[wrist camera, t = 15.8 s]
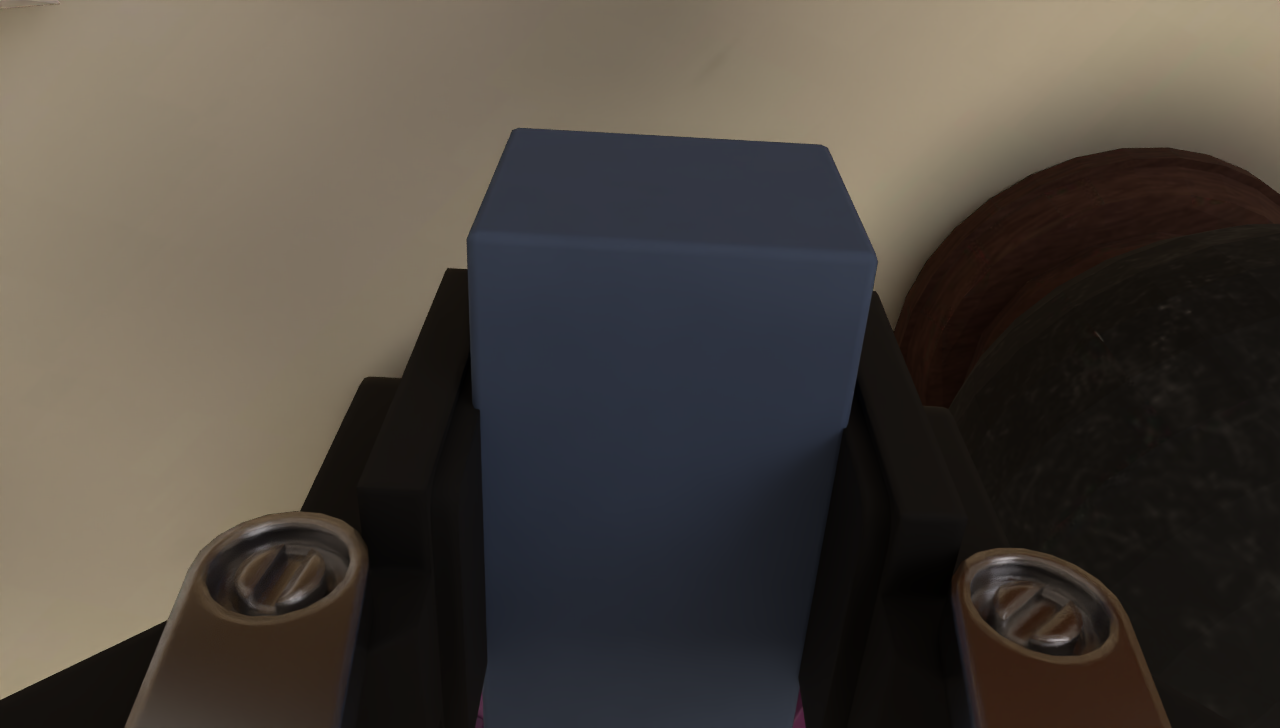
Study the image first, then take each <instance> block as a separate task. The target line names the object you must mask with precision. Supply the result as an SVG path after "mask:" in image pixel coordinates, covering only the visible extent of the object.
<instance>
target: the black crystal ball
mask: <svg viewBox="0 0 1280 728" xmlns="http://www.w3.org/2000/svg"><path fill="white" fill-rule="evenodd" d="M894 335H895V338H896V340H897V343H898V345H899V348H900V350H901V353H902V355H903V358H904V360H905V363H906V365H907V368H908V370H909V373H910V375H911V377H912V380H913V382H914V385H915V387H916V390H917V392H918V395H919V397H920V400H921V402H922V405H923V406H937V407H944V408H947V409H949V411H950V413H951V414H952V416H953V417H954V420H955V422H956V424H957V426H958V429H959V431H960V433H961V435H962V438H963V440H964V442H965V445H966V447H967V449H968V451H969V454H970V456H971V458H972V460H973V463H974V465H975V467H976V469H977V472H978V474H979V476H980V478H981V481H982V483H983V485H984V488H985V490H986V492H987V494H988V497H989V499H990V501H991V503H992V506H993V508H994V510H995V512H996V515H997V517H998V519H999V521H1000V524H1001V526H1002V528H1003V531H1004V533H1005V535H1006V537H1007V540H1008V542H1009V544H1010V546H1011V548H1024V549H1028V550H1033V551H1037V552H1042V553H1046V554H1050V555H1053V556H1055V557H1058V558H1060V559H1062V560H1065V561H1067V562H1070V563H1072V564H1075V565H1076V566H1078V567H1080V568H1081V569H1083V570H1084V571H1086V572H1087V573H1089V574H1091V575H1092V576H1094V577H1095V578H1097V579H1098V580H1099V581H1101V582H1102V583H1103V584H1104V585H1105V586H1106V587H1107V588H1108V589H1109V590H1110V591H1111V592H1112V593H1113V594H1114V595H1115V596H1116V597H1117V598H1118V600H1119V602H1120V603H1121V605H1122V607H1123V608H1124V610H1125V612H1126V613H1127V615H1128V617H1129V619H1130V622H1131V624H1132V627H1133V630H1134V632H1135V635H1136V637H1137V640H1138V642H1139V645H1140V648H1141V650H1142V653H1143V655H1144V658H1145V660H1146V663H1147V666H1148V668H1149V671H1150V673H1151V675H1152V676H1154V677H1155V678H1157V679H1159V680H1161V681H1162V682H1164V683H1166V684H1167V685H1169V686H1171V687H1172V688H1174V689H1176V690H1178V691H1179V692H1181V693H1183V694H1184V695H1186V696H1188V697H1190V698H1191V699H1193V700H1195V701H1196V702H1198V703H1200V704H1201V705H1203V706H1205V707H1207V708H1208V709H1210V710H1212V711H1213V712H1215V713H1217V714H1219V715H1220V716H1222V717H1224V718H1225V719H1227V720H1229V721H1230V722H1232V723H1234V724H1236V725H1237V726H1239V727H1241V728H1280V194H1279V193H1277V192H1276V191H1275V190H1273V189H1272V188H1270V187H1269V186H1268V185H1266V184H1265V183H1264V182H1262V181H1261V180H1260V179H1258V178H1257V177H1255V176H1254V175H1252V174H1251V173H1249V172H1248V171H1246V170H1244V169H1242V168H1239V167H1237V166H1234V165H1232V164H1230V163H1227V162H1225V161H1223V160H1220V159H1218V158H1215V157H1213V156H1211V155H1206V154H1201V153H1195V152H1190V151H1184V150H1178V149H1173V148H1122V149H1117V150H1112V151H1107V152H1102V153H1097V154H1092V155H1087V156H1082V157H1077V158H1074V159H1071V160H1069V161H1066V162H1064V163H1061V164H1058V165H1056V166H1053V167H1051V168H1048V169H1045V170H1043V171H1040V172H1038V173H1035V174H1032V175H1030V176H1029V177H1027V178H1025V179H1023V180H1022V181H1020V182H1018V183H1017V184H1015V185H1013V186H1012V187H1010V188H1008V189H1006V190H1005V191H1003V192H1001V193H1000V194H998V195H996V196H995V197H993V198H991V199H990V200H988V201H987V202H986V203H985V204H984V205H982V206H981V207H980V208H979V209H978V210H976V211H975V212H974V213H973V214H972V215H970V216H969V217H968V218H967V219H966V220H964V221H963V222H962V223H961V224H960V225H958V226H957V227H956V228H955V229H954V230H953V231H952V232H951V234H950V235H949V236H948V237H947V238H946V239H945V241H944V242H943V243H942V244H941V245H940V247H939V248H938V249H937V250H936V251H935V252H934V254H933V255H932V256H931V257H930V258H929V259H928V261H927V262H926V264H925V265H924V267H923V269H922V270H921V272H920V274H919V276H918V277H917V279H916V281H915V282H914V284H913V286H912V288H911V289H910V291H909V293H908V295H907V296H906V299H905V302H904V305H903V307H902V310H901V313H900V316H899V319H898V322H897V325H896V328H895V331H894Z"/></svg>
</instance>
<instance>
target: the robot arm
mask: <svg viewBox="0 0 1280 728" xmlns="http://www.w3.org/2000/svg"><path fill="white" fill-rule="evenodd" d="M486 668H487V630H486V597H485V564H484V531H483V498H482V465H481V432H480V410H479V409H476V408H474V406H473V404H472V381H471V352H470V324H469V295H468V269H455V268H447V270H446V271H445V274H444V276H443V279H442V281H441V283H440V286H439V288H438V291H437V293H436V296H435V298H434V300H433V303H432V305H431V308H430V310H429V312H428V315H427V317H426V320H425V322H424V325H423V327H422V329H421V332H420V334H419V337H418V339H417V342H416V344H415V346H414V349H413V351H412V354H411V356H410V359H409V361H408V363H407V366H406V368H405V371H404V373H403V376H402V378H387V377H366V378H364V380H363V381H362V383H361V384H360V386H359V388H358V390H357V392H356V394H355V396H354V398H353V400H352V402H351V405H350V407H349V409H348V411H347V413H346V415H345V417H344V419H343V421H342V424H341V426H340V428H339V430H338V432H337V434H336V436H335V438H334V440H333V443H332V445H331V447H330V449H329V451H328V453H327V455H326V457H325V459H324V462H323V464H322V466H321V468H320V470H319V472H318V474H317V476H316V478H315V481H314V483H313V485H312V487H311V489H310V491H309V493H308V495H307V497H306V500H305V502H304V504H303V506H302V508H301V510H300V512H299V511H293V512H285V513H276V514H268V515H265V516H262V517H258V518H255V519H252V520H249V521H245V522H242V523H240V524H239V525H237V526H235V527H233V528H231V529H229V530H227V531H225V532H223V533H221V534H220V535H218V536H217V537H216V538H215V539H213V540H212V541H211V542H210V543H209V544H208V545H206V546H205V547H204V548H203V549H202V550H201V551H200V552H199V553H198V555H197V557H196V558H195V560H194V561H193V563H192V564H191V566H190V568H189V569H188V571H187V574H186V576H185V579H184V581H183V584H182V586H181V589H180V591H179V594H178V596H177V599H176V601H175V604H174V606H173V608H172V611H171V613H170V616H169V618H168V620H167V621H165V622H163V623H161V624H158V625H156V626H154V627H152V628H150V629H148V630H146V631H144V632H142V633H140V634H138V635H135V636H133V637H131V638H129V639H127V640H125V641H123V642H121V643H119V644H117V645H115V646H112V647H110V648H108V649H106V650H104V651H102V652H100V653H98V654H96V655H94V656H92V657H89V658H87V659H85V660H83V661H81V662H79V663H77V664H75V665H73V666H71V667H69V668H67V669H64V670H62V671H60V672H58V673H56V674H54V675H52V676H50V677H48V678H46V679H44V680H41V681H39V682H37V683H35V684H33V685H31V686H29V687H27V688H25V689H23V690H21V691H18V692H16V693H14V694H12V695H10V696H8V697H6V698H4V699H2V700H0V728H475V726H476V721H477V715H478V710H479V705H480V700H481V694H482V689H483V684H484V678H485V673H486ZM798 679H799V686H800V693H801V699H802V706H803V713H804V719H805V726H806V728H1241V727H1239V726H1237V725H1236V724H1234V723H1232V722H1230V721H1229V720H1227V719H1225V718H1224V717H1222V716H1220V715H1219V714H1217V713H1215V712H1213V711H1212V710H1210V709H1208V708H1207V707H1205V706H1203V705H1201V704H1200V703H1198V702H1196V701H1195V700H1193V699H1191V698H1190V697H1188V696H1186V695H1184V694H1183V693H1181V692H1179V691H1178V690H1176V689H1174V688H1172V687H1171V686H1169V685H1167V684H1166V683H1164V682H1162V681H1161V680H1159V679H1157V678H1155V677H1154V676H1152V675H1151V673H1150V671H1149V668H1148V666H1147V663H1146V660H1145V658H1144V655H1143V653H1142V650H1141V648H1140V645H1139V642H1138V640H1137V637H1136V635H1135V632H1134V630H1133V627H1132V624H1131V622H1130V619H1129V617H1128V615H1127V613H1126V612H1125V610H1124V608H1123V607H1122V605H1121V603H1120V602H1119V600H1118V598H1117V597H1116V596H1115V595H1114V594H1113V593H1112V592H1111V591H1110V590H1109V589H1108V588H1107V587H1106V586H1105V585H1104V584H1103V583H1102V582H1101V581H1099V580H1098V579H1097V578H1095V577H1094V576H1092V575H1091V574H1089V573H1087V572H1086V571H1084V570H1083V569H1081V568H1080V567H1078V566H1076V565H1075V564H1072V563H1070V562H1067V561H1065V560H1062V559H1060V558H1058V557H1055V556H1053V555H1050V554H1046V553H1042V552H1037V551H1033V550H1028V549H1024V548H1011V546H1010V544H1009V542H1008V540H1007V537H1006V535H1005V533H1004V531H1003V528H1002V526H1001V524H1000V521H999V519H998V517H997V515H996V512H995V510H994V508H993V506H992V503H991V501H990V499H989V497H988V494H987V492H986V490H985V488H984V485H983V483H982V481H981V478H980V476H979V474H978V472H977V469H976V467H975V465H974V463H973V460H972V458H971V456H970V454H969V451H968V449H967V447H966V445H965V442H964V440H963V438H962V435H961V433H960V431H959V429H958V426H957V424H956V422H955V420H954V417H953V416H952V414H951V413H950V411H949V409H947V408H944V407H937V406H923V405H922V402H921V400H920V397H919V395H918V392H917V390H916V387H915V385H914V382H913V380H912V377H911V375H910V373H909V370H908V368H907V365H906V363H905V360H904V358H903V355H902V353H901V350H900V348H899V345H898V343H897V340H896V338H895V335H894V333H893V330H892V328H891V325H890V323H889V320H888V318H887V315H886V313H885V310H884V308H883V305H882V303H881V300H880V298H879V296H878V294H877V292H876V291H872V297H871V302H870V308H869V313H868V319H867V324H866V329H865V335H864V340H863V346H862V351H861V357H860V362H859V368H858V373H857V379H856V384H855V389H854V395H853V400H852V406H851V411H850V417H849V422H848V425H847V427H846V428H843V434H842V439H841V445H840V450H839V456H838V461H837V467H836V472H835V478H834V483H833V489H832V495H831V500H830V506H829V511H828V517H827V522H826V528H825V533H824V539H823V544H822V550H821V555H820V561H819V566H818V572H817V577H816V583H815V588H814V594H813V599H812V605H811V610H810V616H809V621H808V627H807V632H806V638H805V643H804V649H803V654H802V660H801V665H800V671H799V676H798Z"/></svg>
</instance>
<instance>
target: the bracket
mask: <svg viewBox="0 0 1280 728" xmlns="http://www.w3.org/2000/svg"><path fill="white" fill-rule="evenodd" d="M53 4H60V3H59V0H0V9H2V8H15V7H27V6H40V5H53Z"/></svg>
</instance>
